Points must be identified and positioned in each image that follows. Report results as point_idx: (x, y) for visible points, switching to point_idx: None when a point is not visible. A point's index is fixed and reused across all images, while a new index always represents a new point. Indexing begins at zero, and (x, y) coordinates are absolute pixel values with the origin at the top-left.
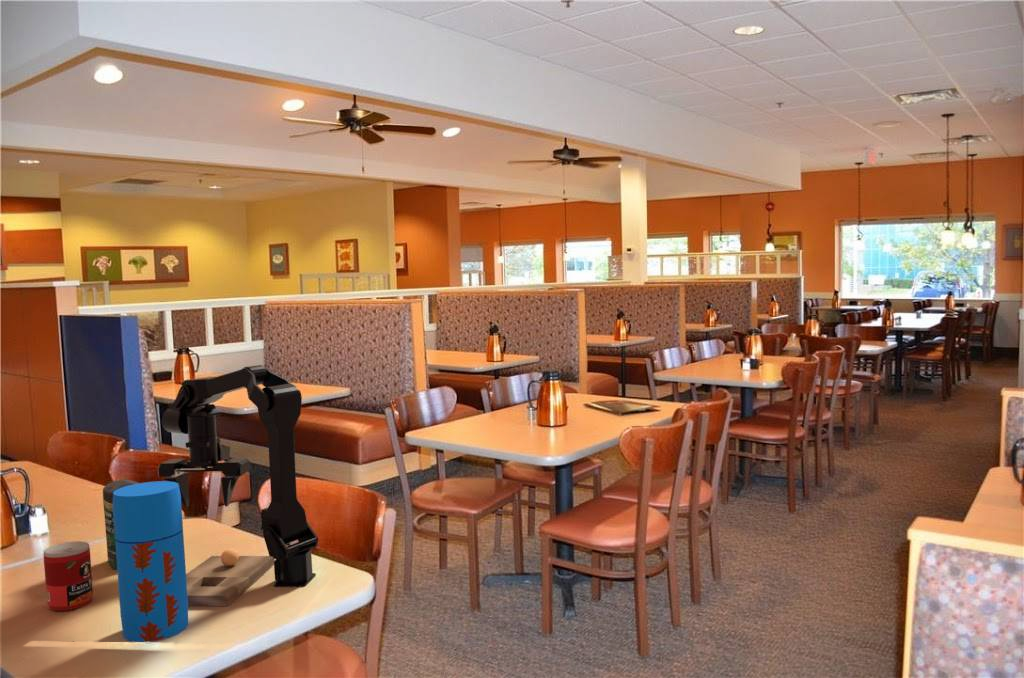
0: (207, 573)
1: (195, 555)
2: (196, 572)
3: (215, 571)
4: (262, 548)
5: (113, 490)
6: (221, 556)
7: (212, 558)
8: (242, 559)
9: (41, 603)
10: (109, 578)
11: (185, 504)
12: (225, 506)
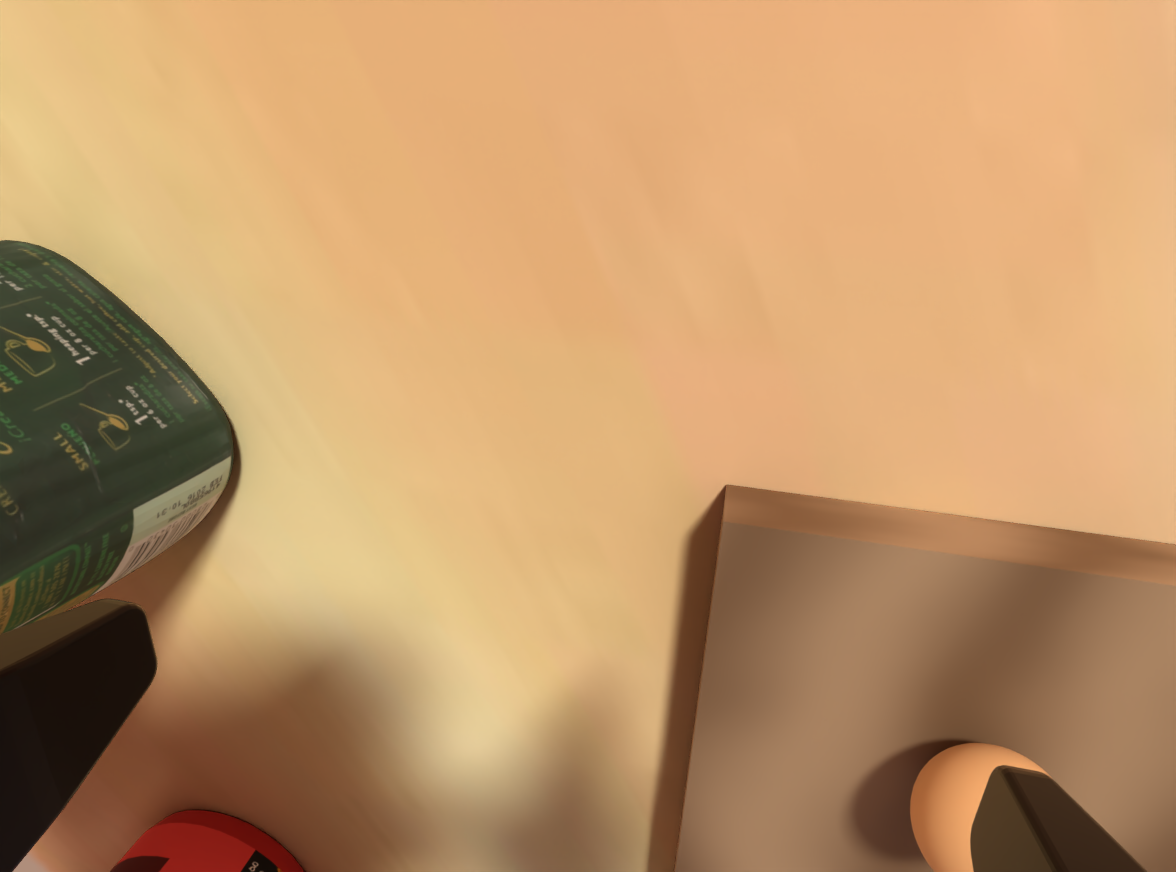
0: (832, 862)
1: (465, 219)
2: (742, 830)
3: (881, 843)
4: (1140, 15)
5: None
6: (932, 868)
7: (753, 583)
8: (1054, 653)
9: (111, 841)
10: (165, 612)
11: (115, 721)
12: (975, 835)
